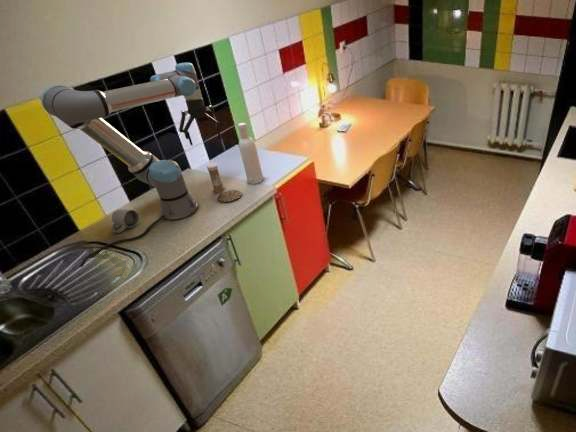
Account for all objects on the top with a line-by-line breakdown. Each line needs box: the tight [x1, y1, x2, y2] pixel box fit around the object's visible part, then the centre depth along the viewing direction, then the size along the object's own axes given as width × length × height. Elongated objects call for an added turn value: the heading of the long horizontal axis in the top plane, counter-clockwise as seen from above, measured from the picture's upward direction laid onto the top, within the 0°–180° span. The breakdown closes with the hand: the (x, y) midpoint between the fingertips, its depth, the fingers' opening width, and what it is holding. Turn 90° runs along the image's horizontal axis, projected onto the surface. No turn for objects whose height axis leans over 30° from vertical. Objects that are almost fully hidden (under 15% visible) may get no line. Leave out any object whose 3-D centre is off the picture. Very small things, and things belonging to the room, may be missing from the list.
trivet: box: [217, 189, 243, 204], centre depth 199 cm, size 11×11×1 cm
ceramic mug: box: [111, 208, 140, 234], centre depth 179 cm, size 11×8×8 cm
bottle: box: [237, 122, 264, 185], centre depth 204 cm, size 8×8×30 cm
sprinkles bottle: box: [206, 163, 225, 193], centre depth 202 cm, size 5×5×14 cm
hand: (206, 141), depth 205 cm, fingers open, 13 cm apart
